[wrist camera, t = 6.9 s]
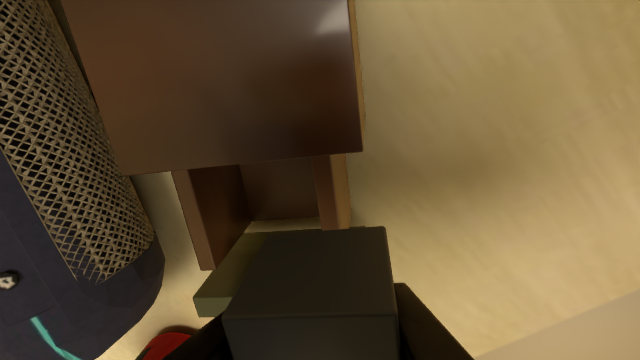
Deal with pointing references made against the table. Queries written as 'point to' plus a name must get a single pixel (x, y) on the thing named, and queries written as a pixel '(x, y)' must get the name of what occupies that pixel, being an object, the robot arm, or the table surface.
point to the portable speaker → (63, 205)
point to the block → (317, 299)
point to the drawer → (254, 213)
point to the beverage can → (162, 345)
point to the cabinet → (221, 79)
